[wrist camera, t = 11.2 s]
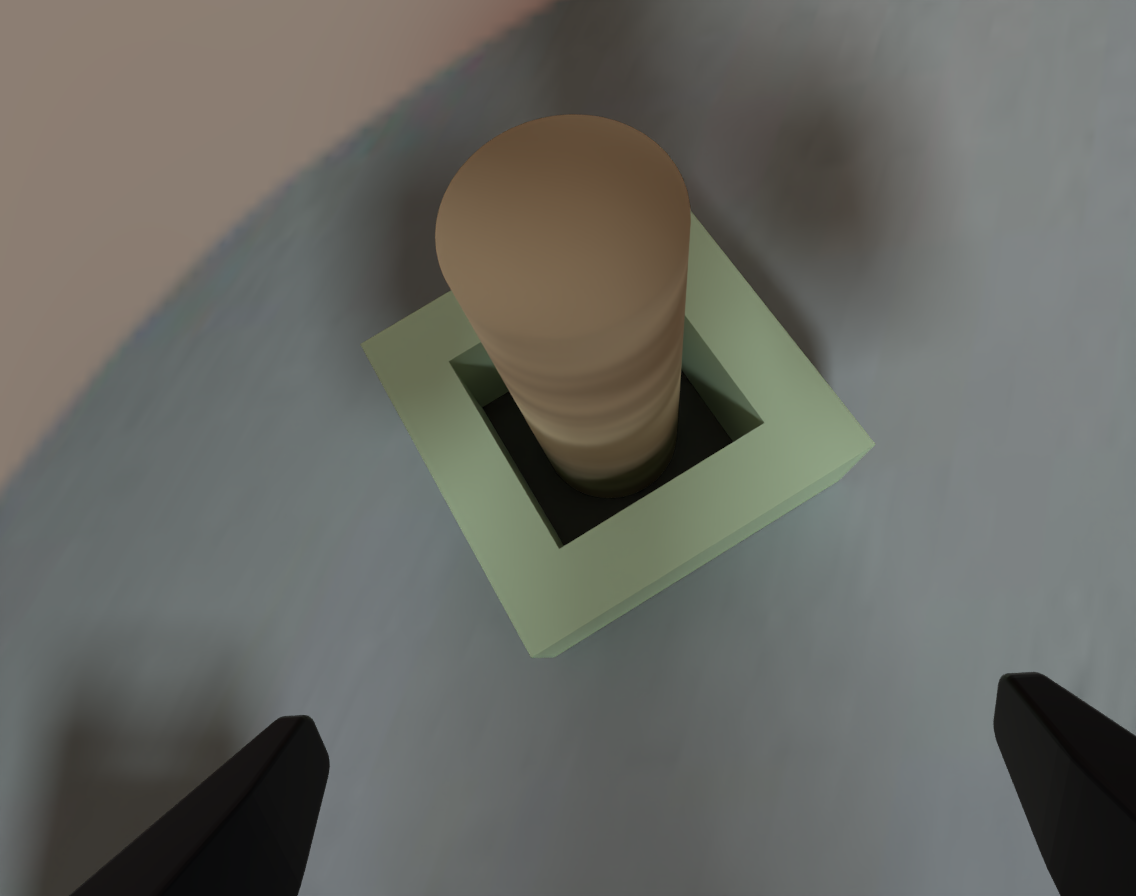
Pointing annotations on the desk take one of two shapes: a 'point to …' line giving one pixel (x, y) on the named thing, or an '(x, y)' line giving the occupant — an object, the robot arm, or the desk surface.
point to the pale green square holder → (660, 519)
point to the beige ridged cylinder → (577, 289)
